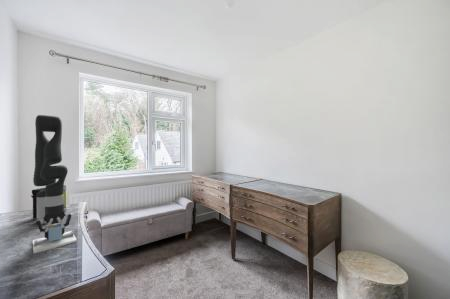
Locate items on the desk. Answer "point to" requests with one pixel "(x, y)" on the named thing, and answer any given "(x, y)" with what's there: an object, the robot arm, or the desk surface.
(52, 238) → the block
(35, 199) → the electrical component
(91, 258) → the desk surface
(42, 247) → the rail plate
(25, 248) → the desk surface
